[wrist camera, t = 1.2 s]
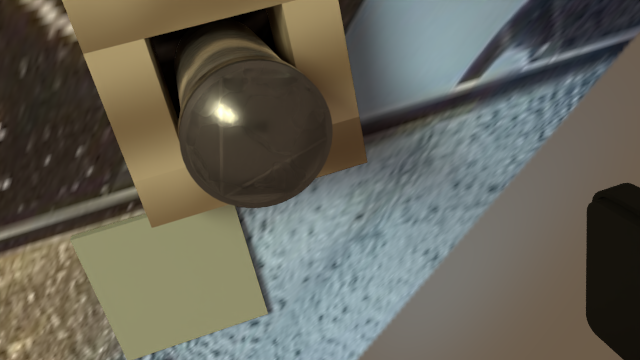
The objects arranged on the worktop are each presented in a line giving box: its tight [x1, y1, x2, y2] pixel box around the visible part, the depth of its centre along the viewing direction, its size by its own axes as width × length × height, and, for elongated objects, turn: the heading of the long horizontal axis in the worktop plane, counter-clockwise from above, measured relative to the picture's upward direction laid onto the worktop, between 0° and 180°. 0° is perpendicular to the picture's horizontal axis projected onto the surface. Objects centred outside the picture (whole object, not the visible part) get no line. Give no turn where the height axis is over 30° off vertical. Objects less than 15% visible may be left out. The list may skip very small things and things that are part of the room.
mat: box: [70, 205, 268, 360], centre depth 34 cm, size 9×9×1 cm
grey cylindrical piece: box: [174, 18, 333, 208], centre depth 24 cm, size 5×5×12 cm
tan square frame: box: [62, 0, 367, 228], centre depth 27 cm, size 11×11×5 cm
